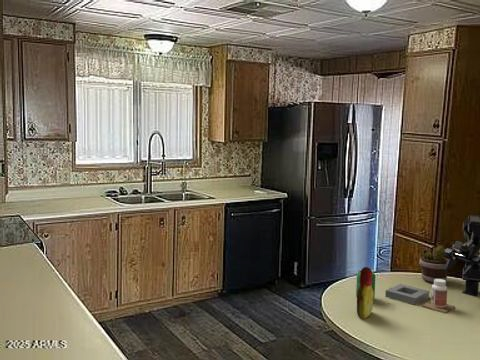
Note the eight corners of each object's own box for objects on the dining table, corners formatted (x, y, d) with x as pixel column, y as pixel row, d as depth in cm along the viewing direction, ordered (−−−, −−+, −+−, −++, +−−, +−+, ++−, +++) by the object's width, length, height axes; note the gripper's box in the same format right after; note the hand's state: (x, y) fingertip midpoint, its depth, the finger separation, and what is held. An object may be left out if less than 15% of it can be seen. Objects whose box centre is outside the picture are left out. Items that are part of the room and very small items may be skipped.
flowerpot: (412, 277, 252) (414, 238, 250) (440, 276, 254) (443, 238, 252) (426, 285, 238) (428, 245, 236) (456, 285, 239) (458, 245, 237)
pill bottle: (449, 306, 208) (451, 281, 207) (440, 309, 205) (442, 283, 204) (436, 302, 213) (438, 277, 212) (427, 304, 210) (429, 279, 209)
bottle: (368, 321, 192) (371, 272, 190) (352, 318, 194) (354, 269, 192) (374, 311, 202) (377, 264, 200) (359, 309, 205) (361, 262, 203)
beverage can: (354, 300, 216) (355, 273, 215) (357, 294, 223) (358, 269, 222) (373, 302, 213) (374, 276, 212) (375, 297, 220) (376, 271, 219)
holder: (400, 289, 231) (400, 283, 231) (429, 297, 221) (429, 291, 221) (385, 296, 221) (385, 290, 221) (415, 304, 211) (415, 298, 211)
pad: (431, 301, 216) (431, 300, 216) (454, 307, 209) (454, 306, 209) (421, 306, 209) (421, 305, 209) (445, 313, 202) (445, 311, 202)
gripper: (448, 230, 221) (428, 256, 218) (484, 239, 204) (463, 267, 201) (459, 246, 225) (440, 272, 222) (495, 255, 208) (475, 284, 205)
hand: (454, 273), depth 212 cm, fingers open, 9 cm apart
